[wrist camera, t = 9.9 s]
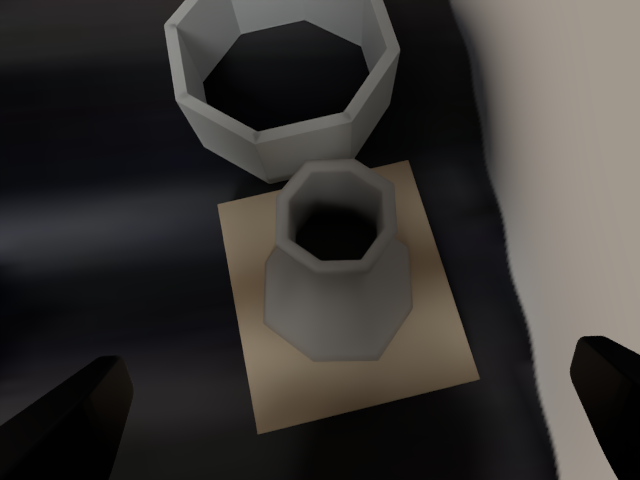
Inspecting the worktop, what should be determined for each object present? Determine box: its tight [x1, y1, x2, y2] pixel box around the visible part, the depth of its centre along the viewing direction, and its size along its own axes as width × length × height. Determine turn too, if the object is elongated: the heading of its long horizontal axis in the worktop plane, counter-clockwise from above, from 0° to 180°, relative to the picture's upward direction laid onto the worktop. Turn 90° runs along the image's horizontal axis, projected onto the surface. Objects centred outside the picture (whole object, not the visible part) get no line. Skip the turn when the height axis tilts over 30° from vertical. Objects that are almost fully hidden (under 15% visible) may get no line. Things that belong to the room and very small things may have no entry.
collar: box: [164, 0, 400, 184], centre depth 24 cm, size 11×11×4 cm
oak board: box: [218, 160, 480, 434], centre depth 21 cm, size 11×10×2 cm
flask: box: [263, 158, 413, 362], centre depth 16 cm, size 7×7×10 cm
